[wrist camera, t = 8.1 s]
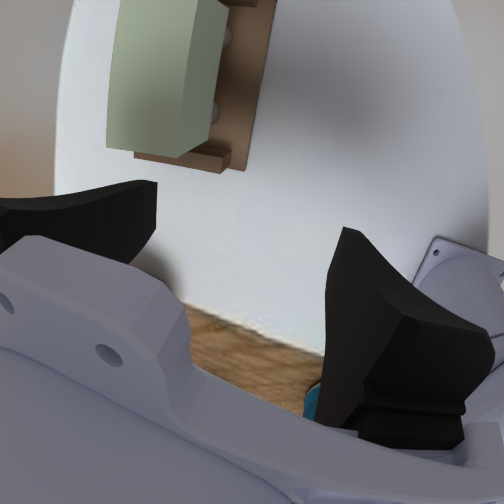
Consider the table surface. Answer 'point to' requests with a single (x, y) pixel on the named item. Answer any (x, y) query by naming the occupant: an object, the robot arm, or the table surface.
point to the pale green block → (164, 75)
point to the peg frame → (232, 90)
